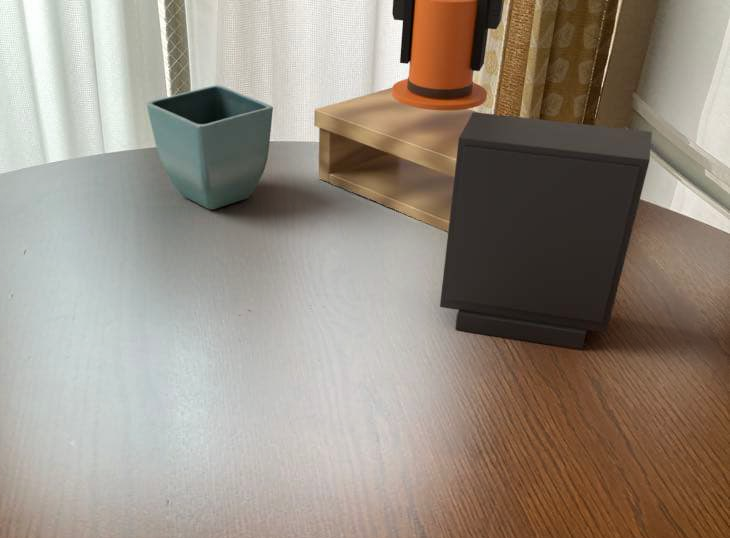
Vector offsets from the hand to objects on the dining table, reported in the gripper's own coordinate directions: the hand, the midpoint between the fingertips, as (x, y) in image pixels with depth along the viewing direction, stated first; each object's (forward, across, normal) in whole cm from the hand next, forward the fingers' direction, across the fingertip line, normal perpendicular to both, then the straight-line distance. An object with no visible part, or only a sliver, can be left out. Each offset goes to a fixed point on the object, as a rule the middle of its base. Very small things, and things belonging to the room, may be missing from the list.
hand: (442, 62), depth 86 cm
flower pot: (+13, -20, -8) cm, 25 cm away
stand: (+12, 0, 0) cm, 12 cm away
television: (+12, +13, -23) cm, 29 cm away
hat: (+3, 0, 0) cm, 3 cm away
